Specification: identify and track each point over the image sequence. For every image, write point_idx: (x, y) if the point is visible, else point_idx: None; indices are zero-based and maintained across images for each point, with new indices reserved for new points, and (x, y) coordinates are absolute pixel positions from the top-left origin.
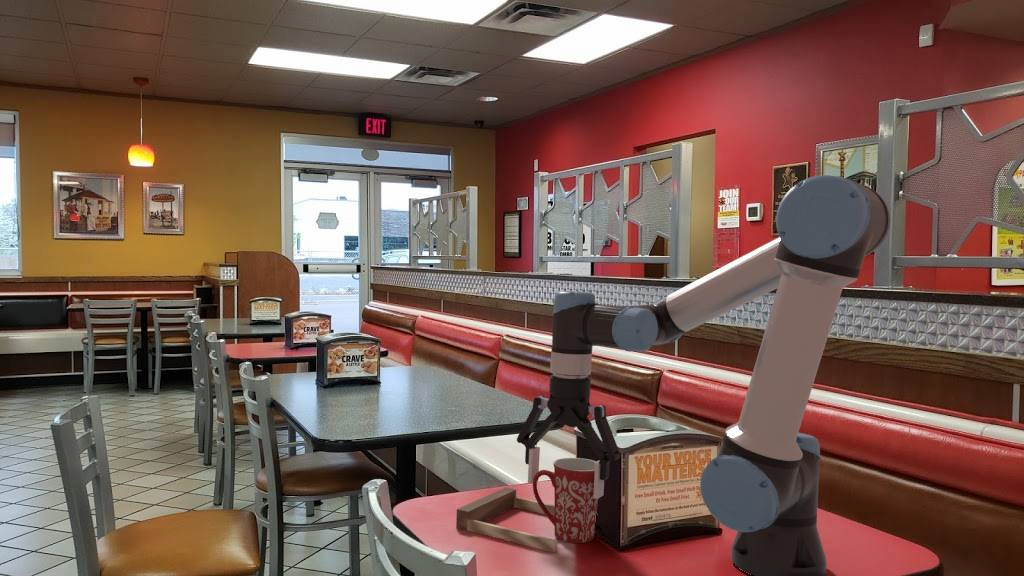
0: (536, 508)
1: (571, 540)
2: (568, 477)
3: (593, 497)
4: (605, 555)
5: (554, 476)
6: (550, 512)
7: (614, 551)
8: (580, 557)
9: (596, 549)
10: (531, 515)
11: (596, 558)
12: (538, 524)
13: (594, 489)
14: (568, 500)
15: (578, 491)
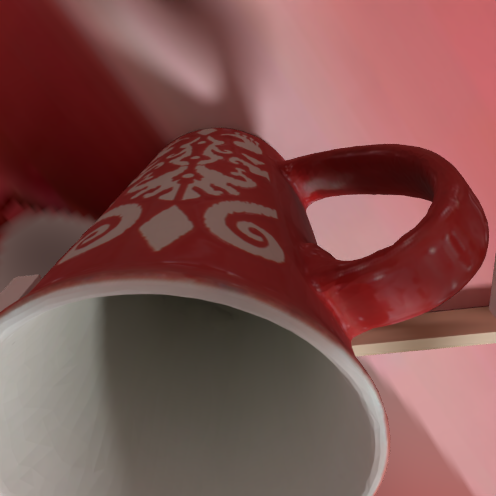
0: (485, 316)
1: (179, 137)
2: (119, 250)
3: (38, 277)
4: (7, 122)
5: (310, 277)
6: (419, 321)
7: (17, 181)
8: (49, 25)
9: (73, 151)
10: (480, 272)
11: (3, 67)
12: (406, 213)
13: (6, 306)
14: (158, 184)
15: (83, 236)
